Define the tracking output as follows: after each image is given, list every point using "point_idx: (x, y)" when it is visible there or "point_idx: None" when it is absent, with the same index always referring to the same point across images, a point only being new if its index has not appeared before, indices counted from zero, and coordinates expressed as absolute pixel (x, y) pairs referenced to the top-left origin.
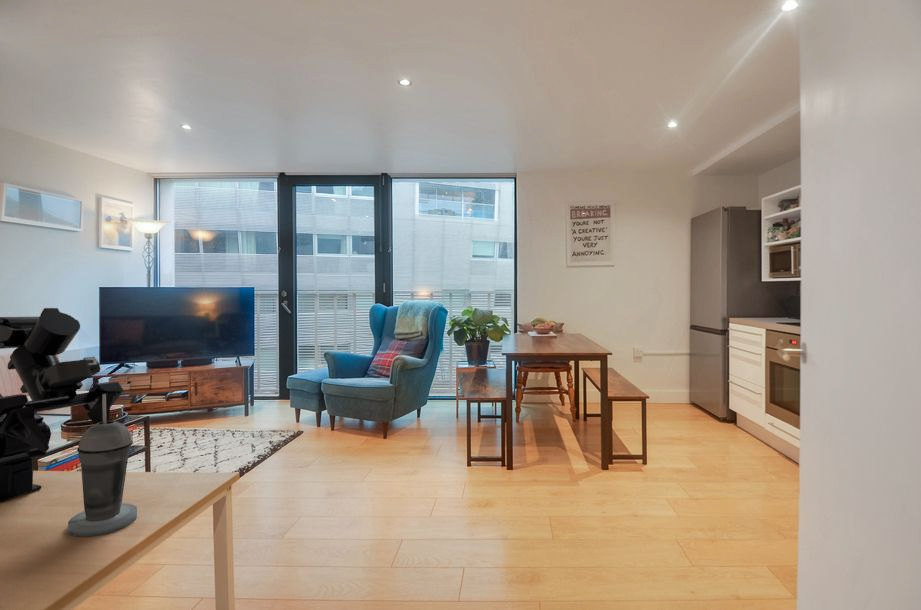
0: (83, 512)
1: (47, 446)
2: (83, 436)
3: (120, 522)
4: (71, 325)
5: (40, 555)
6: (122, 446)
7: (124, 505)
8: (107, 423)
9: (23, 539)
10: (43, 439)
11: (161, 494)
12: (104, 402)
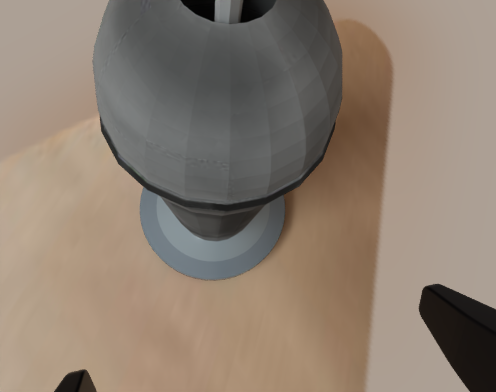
0: (238, 266)
1: (437, 290)
2: (340, 60)
3: None
4: None
5: (340, 159)
6: (187, 3)
7: (155, 226)
8: (184, 77)
9: (351, 264)
10: (486, 314)
11: (29, 275)
12: None
